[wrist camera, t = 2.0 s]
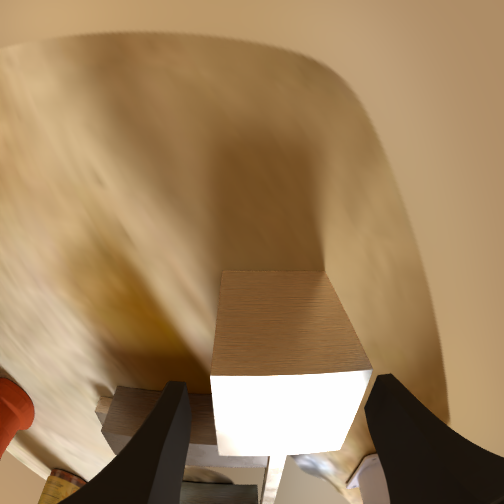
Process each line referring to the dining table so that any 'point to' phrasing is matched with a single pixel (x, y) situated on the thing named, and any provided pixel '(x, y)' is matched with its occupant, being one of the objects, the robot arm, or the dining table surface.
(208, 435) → the vise base
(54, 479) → the sauce bottle
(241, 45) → the dining table surface
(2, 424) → the toy drill
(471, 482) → the robot arm
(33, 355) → the dining table surface
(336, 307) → the steel block
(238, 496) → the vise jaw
